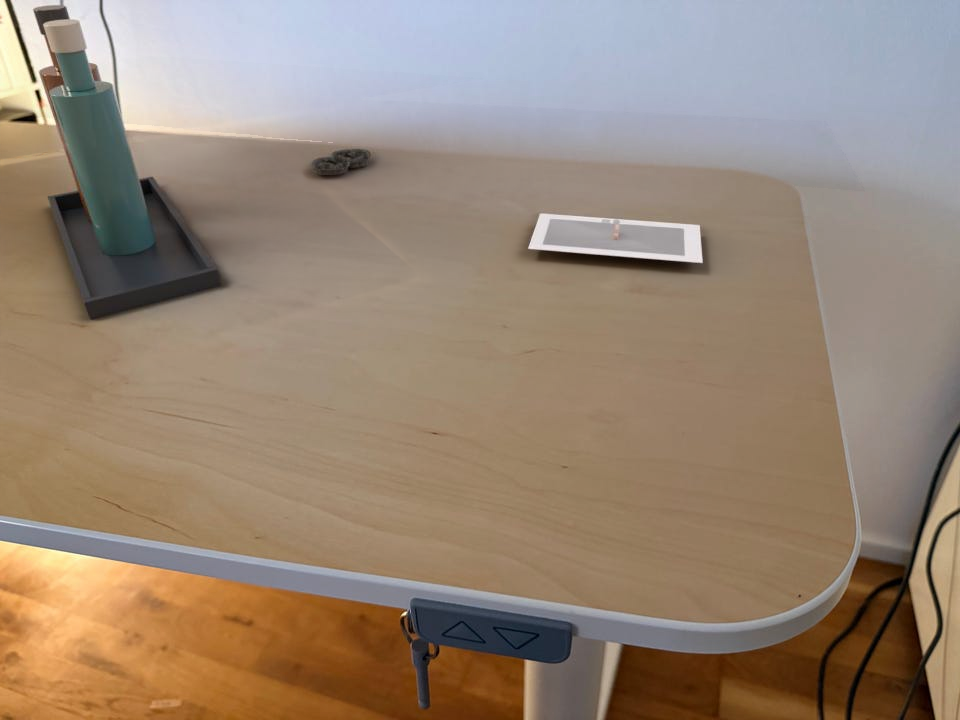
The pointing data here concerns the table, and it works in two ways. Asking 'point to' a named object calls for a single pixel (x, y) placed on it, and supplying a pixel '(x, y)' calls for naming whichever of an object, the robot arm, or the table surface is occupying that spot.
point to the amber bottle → (58, 74)
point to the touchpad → (618, 237)
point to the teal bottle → (98, 146)
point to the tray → (133, 257)
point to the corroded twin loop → (341, 161)
